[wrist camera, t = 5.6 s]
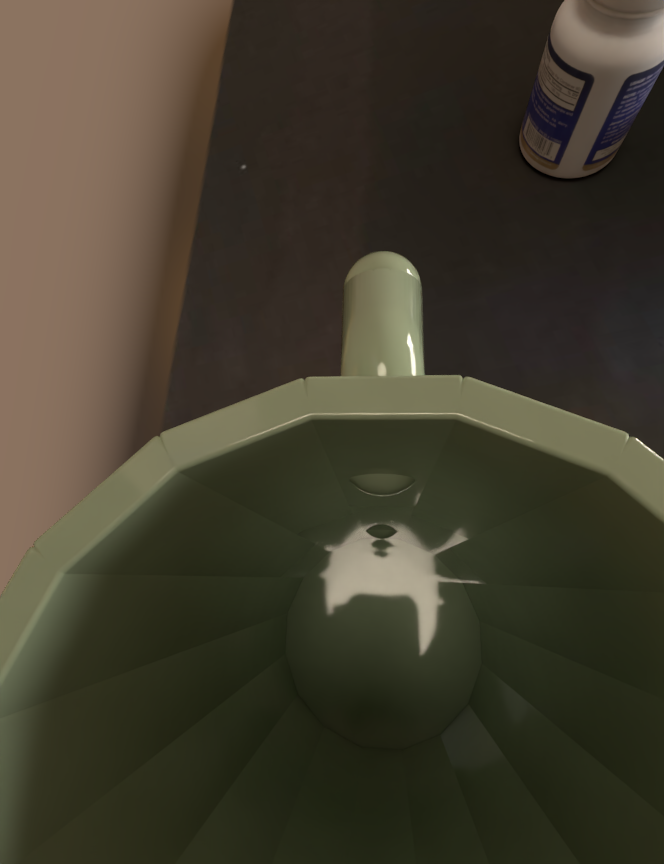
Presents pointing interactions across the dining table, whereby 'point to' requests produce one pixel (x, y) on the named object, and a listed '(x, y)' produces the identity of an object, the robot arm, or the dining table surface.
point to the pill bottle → (591, 83)
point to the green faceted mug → (347, 630)
